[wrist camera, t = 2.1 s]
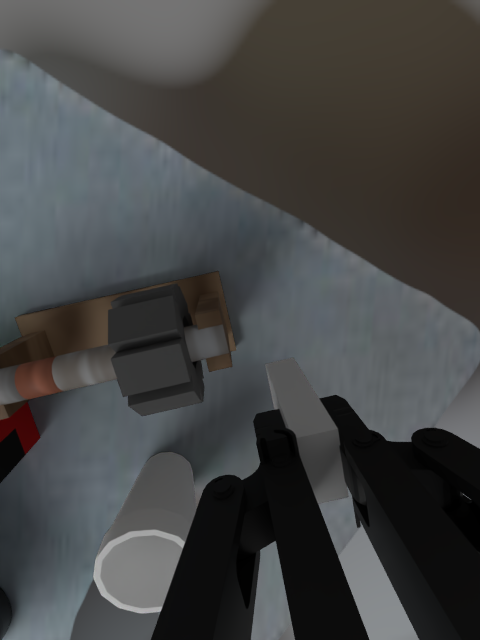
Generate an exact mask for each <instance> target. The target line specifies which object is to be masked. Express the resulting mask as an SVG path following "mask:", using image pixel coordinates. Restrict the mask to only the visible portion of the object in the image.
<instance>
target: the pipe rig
mask: <svg viewBox="0 0 480 640" xmlns="http://www.w3.org/2000/svg"><path fill="white" fill-rule="evenodd" d="M176 283H177V284H178V286H180V288H181V291H182V293H183V295H184V298H185V300H186V302H187V306H188V312H189V313H190V314H191V318H192V322H193V325H192V326H188V327H184V333H185V340H186V344H187V348H188V351H189V355H190V359H191V361H192V362H194V361H199V360H203V359H206V361H207V365H208V369H209V372H211V371H216V370H220V369H224V368H229V367H232V359H231V352H230V351H235V350H236V346H235V342H234V337H233V333H232V329H231V324H230V320H229V316H228V311H227V307H226V302H225V298H224V294H223V289H222V285H221V281H220V276H219V272H218V271H216V272H212V273H208V274H203V275H199V276H194V277H190V278H185V279H181V280H176V281H172V282H167V283H163V284H158V285H154V286H149V287H145V288H140V289H136V290H131V291H127V292H122V293H118V294H113V295H109V296H104V297H100V298H95V299H91V300H86V301H82V302H78V303H73V304H69V305H64V306H60V307H55V308H51V309H46V310H42V311H37V312H33V313H28V314H24V315H20V316H18V317H15V320H16V323H17V325H18V328H19V330H20V333H21V335H22V337H20V338H18V339H16V340H14V341H12V342H10V343H8V344H6V345H4V346H3V347H1V348H0V420H1V419H6V418H9V417H10V416H12V415H13V414H14V413H15V412H16V411H17V410H18V409H20V408H21V407H22V406H23V405H24V404H25V403H26V402H28V401H29V400H30V399H32V398H37V397H41V396H45V395H50V394H54V393H58V392H63V391H67V390H72V389H76V388H80V387H85V386H89V385H94V384H98V383H102V382H107V381H111V380H116V379H117V377H116V374H115V371H114V368H113V365H112V362H111V358H112V357H113V356H114V354H115V353H116V352H115V351H114V350H113V349H112V348H111V347H110V346H109V345H108V310H109V309H112V306H111V303H110V302H111V301H113V300H115V299H116V298H118V297H120V296H122V295H126V294H131V293H135V292H140V291H144V290H149V289H153V288H158V287H162V286H167V285H171V284H176Z"/></svg>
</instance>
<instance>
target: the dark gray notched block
mask: <svg viewBox="0 0 480 640" xmlns="http://www.w3.org/2000/svg"><path fill="white" fill-rule="evenodd" d="M110 303H111V306H112V309H109V310H108V345H109V346H110V347H111V348H112V349H113V350H114V351H115V352H116V353H115V354H114V356H113V357H112V358H111V362H112V365H113V368H114V371H115V374H116V377H117V380H118V383H119V386H120V389H121V392H122V395H123V397H125V396H128V406H129V407H130V408H132V409H133V410H134V411H136V412H137V413H139V414H140V415H141V416H146V415H150V414H154V413H159V412H163V411H167V410H172V409H176V408H180V407H185V406H189V405H193V404H198V403H202V402H203V398H204V383H203V378H204V377H203V371H202V364H201V360H199V361H194V362H192V361H191V359H190V355H189V351H188V348H187V344H186V340H185V333H184V327H188V326H192V325H193V322H192V318H191V314H190V313H189V312H188V306H187V302H186V300H185V298H184V295H183V293H182V291H181V288H180V286H178V284H177V283H176V284H171V285H167V286H162V287H158V288H153V289H149V290H144V291H140V292H135V293H131V294H126V295H122V296H120V297H118V298H116V299H115V300H113V301H111V302H110Z"/></svg>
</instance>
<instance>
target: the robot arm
mask: <svg viewBox="0 0 480 640" xmlns="http://www.w3.org/2000/svg"><path fill="white" fill-rule="evenodd" d="M265 366H266V371H267V376H268V381H269V385H270V390H271V395H272V400H273V405H274V409H275V410H271V411H267V412H262V413H258V414H256V416H255V419H254V421H253V422H254V428H255V433H256V438H257V442H256V445H257V449H258V453H259V458H260V465H259V467H258V469H257V470H256V471H255V472H254V473H253V474H252V475H250V476H249V477H247V478H245V479H243V480H241V479H240V478H239V477H237V476H235V475H223V476H219V477H217V478H215V479H213V480H212V481H211V482H209V483H208V484H207V485H206V487H205V489H204V490H203V493H202V496H201V499H200V501H199V504H198V507H197V510H196V513H195V516H194V518H193V521H192V524H191V527H190V530H189V533H188V536H187V538H186V541H185V544H184V547H183V550H182V553H181V555H180V558H179V561H178V564H177V567H176V570H175V573H174V575H173V578H172V581H171V584H170V587H169V590H168V592H167V595H166V598H165V601H164V604H163V607H162V610H161V612H160V615H159V618H158V621H157V624H156V627H155V630H154V632H153V635H152V638H151V640H251V632H252V623H253V614H254V606H255V597H256V588H257V580H258V571H259V562H260V550H261V549H262V548H264V547H266V546H267V545H269V544H271V543H272V542H274V541H276V544H277V549H278V554H279V559H280V564H281V570H282V575H283V580H284V585H285V590H286V595H287V600H288V606H289V611H290V616H291V621H292V626H293V631H294V636H295V640H369V637H368V635H367V632H366V629H365V627H364V624H363V622H362V619H361V616H360V614H359V611H358V608H357V606H356V603H355V601H354V598H353V595H352V592H351V590H350V587H349V585H348V582H347V580H346V577H345V574H344V571H343V569H342V566H341V563H340V561H339V558H338V555H337V553H336V550H335V548H334V545H333V542H332V540H331V537H330V534H329V532H328V529H327V526H326V524H325V521H324V518H323V516H322V513H321V511H320V508H319V505H318V504H321V503H325V502H329V501H334V500H338V499H342V498H347V497H348V490H347V486H348V488H349V490H350V492H351V494H352V499H353V506H354V512H355V519H356V524H357V528H358V527H361V526H360V521H361V523H362V525H363V527H364V529H365V531H366V533H367V535H368V537H369V539H370V541H371V543H372V545H373V547H374V549H375V551H376V553H377V555H378V557H379V559H380V561H381V563H382V565H383V567H384V569H385V571H386V573H387V576H388V577H389V579H390V581H391V583H392V585H393V587H394V590H395V591H396V593H397V596H398V597H399V600H400V602H401V604H402V606H403V607H404V610H405V611H406V614H407V616H408V618H409V620H410V622H411V624H412V626H413V628H414V630H415V631H416V634H417V636H418V638H419V640H480V449H479V448H477V447H475V446H474V445H472V444H470V443H468V442H467V441H465V440H463V439H461V438H460V437H458V436H456V435H454V434H453V433H450V432H448V431H446V430H443V429H437V428H424V429H420V430H417V431H416V432H414V433H413V435H412V437H411V440H412V442H390V441H386V439H385V438H384V437H383V436H382V435H381V434H379V433H378V432H375V431H372V430H369V429H368V428H367V427H366V425H365V424H364V423H363V422H362V420H361V419H360V418H359V416H358V415H357V414H356V413H355V411H354V410H353V409H352V407H350V405H349V404H348V402H347V401H346V400H345V399H343V398H341V397H339V396H337V395H333V396H329V397H324V398H320V399H319V398H318V396H317V395H316V393H315V391H314V390H313V388H312V387H311V385H310V383H309V382H308V380H307V378H306V377H305V375H304V374H303V372H302V370H301V369H300V367H299V366H298V364H297V362H296V361H295V359H294V358H289V359H285V360H280V361H276V362H271V363H267V364H265ZM463 494H464V495H463ZM465 495H466V496H467V497H469V498H470V499H469V498H467V497H466V496H465ZM10 621H11V607H10V604H9V601H8V599H7V597H6V595H5V594H4V592H3V591H2V590H1V589H0V640H2V638H3V637H4V635H5V633H6V631H7V629H8V627H9V625H10Z"/></svg>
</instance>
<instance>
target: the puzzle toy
mask: <svg viewBox="0 0 480 640" xmlns="http://www.w3.org/2000/svg"><path fill="white" fill-rule="evenodd" d="M39 439H40V435H39V433H38V430H37V427H36V424H35V422H34V419H33V416H32V413H31V411H30V408H29V405H28V402H26V403H25V404H24V405H23V406H22V407H21V408H20V409H18V410H17V411H16V412H15V413H14V414H13V415H12V416H10V417H9V418H6V419H1V420H0V483H1V482H2V481H3V480H4V479H5V477H6V476H7V475H8V474H9V473H10V472H11V471H12V469H13V468H14V467H15V466H16V465H17V464H18V463H19V461H20V460H21V459H22V458H23V457H24V456H25V455H26V453H27V452H28V451H29V450H30V449H31V448H32V447H33V445H34V444H35V443H36V442H37V441H38V440H39Z"/></svg>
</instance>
